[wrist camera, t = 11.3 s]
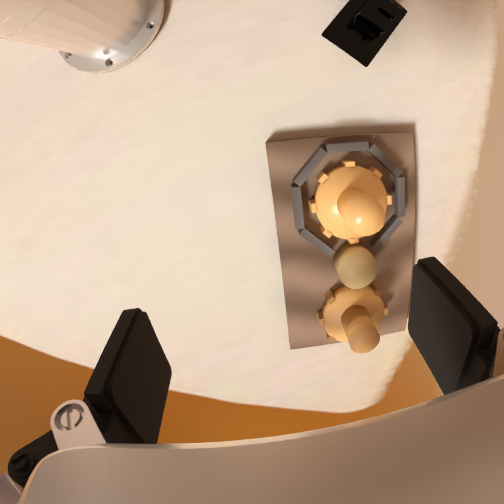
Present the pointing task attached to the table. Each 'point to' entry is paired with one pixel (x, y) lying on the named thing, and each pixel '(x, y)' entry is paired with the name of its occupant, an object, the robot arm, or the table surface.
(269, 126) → the table surface
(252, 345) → the table surface
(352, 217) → the gear
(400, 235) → the carrier
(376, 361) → the table surface
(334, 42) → the black slotted bracket
